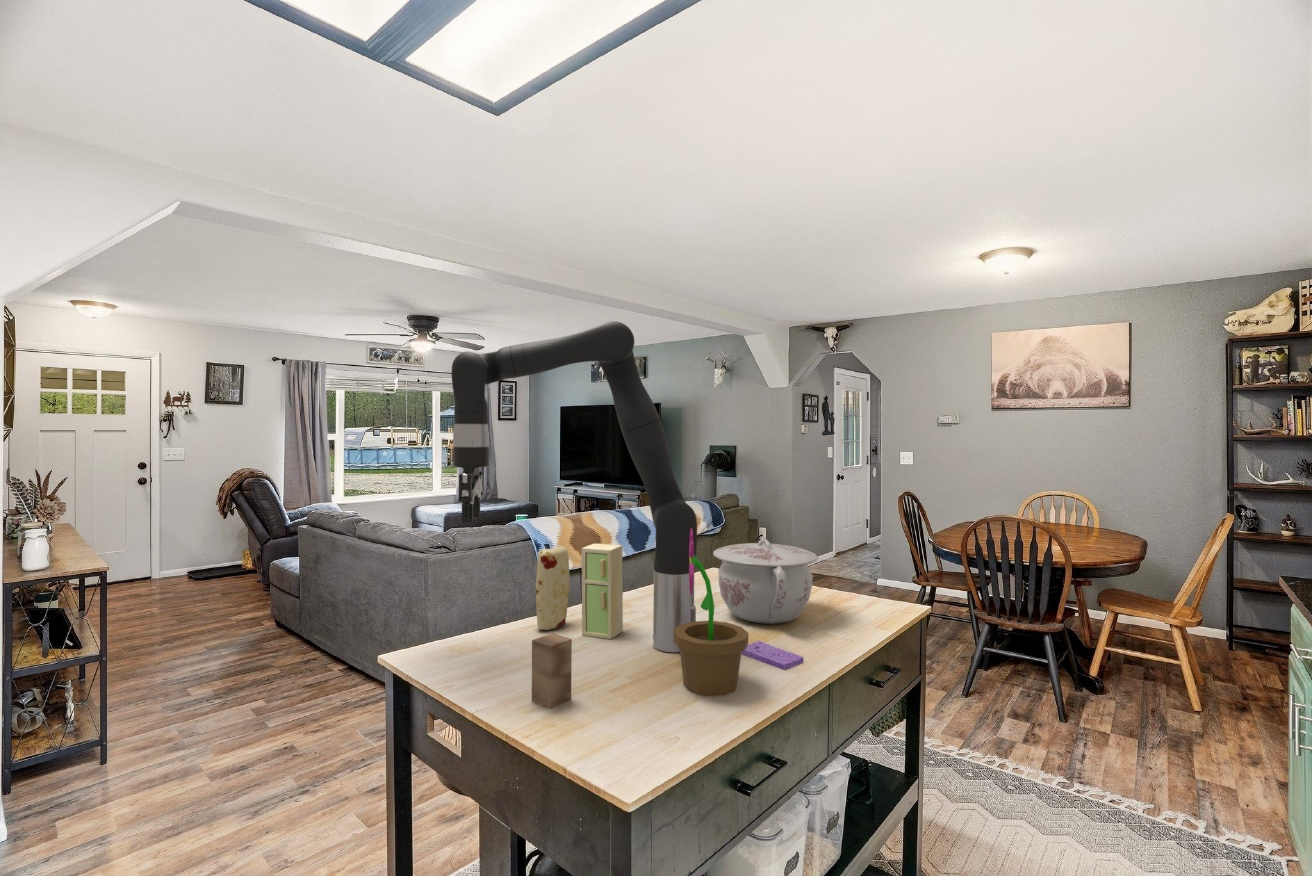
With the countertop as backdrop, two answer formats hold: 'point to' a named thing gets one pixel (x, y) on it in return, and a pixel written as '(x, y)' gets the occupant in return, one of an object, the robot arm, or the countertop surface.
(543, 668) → the walnut block
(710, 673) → the flowerpot
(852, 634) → the countertop surface
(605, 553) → the toy refrigerator
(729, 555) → the chamber pot
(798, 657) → the sponges
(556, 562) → the food model
